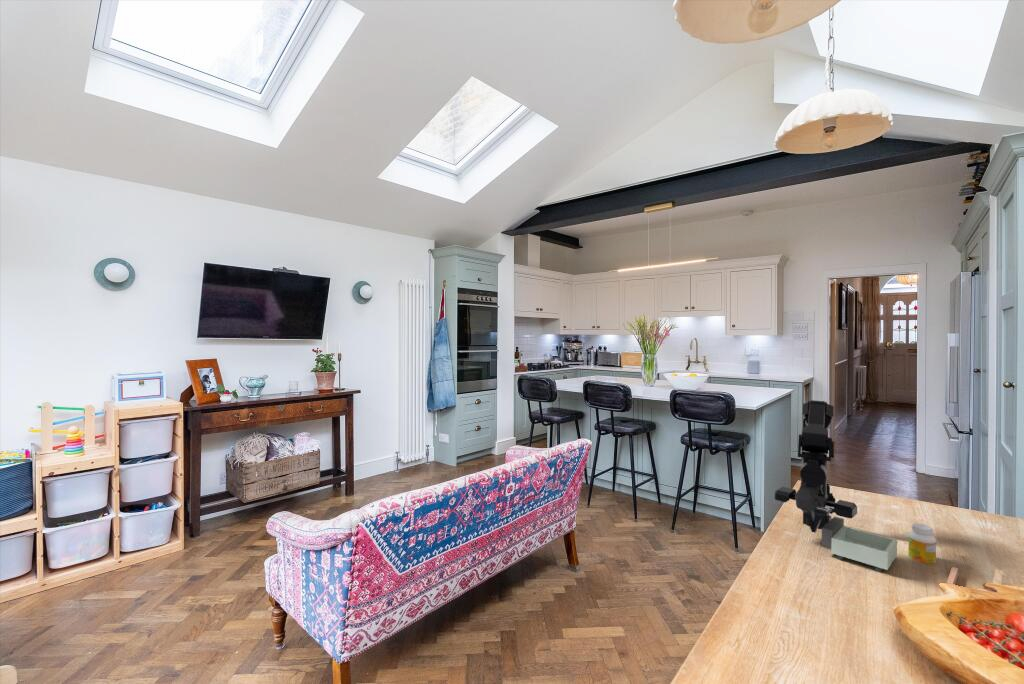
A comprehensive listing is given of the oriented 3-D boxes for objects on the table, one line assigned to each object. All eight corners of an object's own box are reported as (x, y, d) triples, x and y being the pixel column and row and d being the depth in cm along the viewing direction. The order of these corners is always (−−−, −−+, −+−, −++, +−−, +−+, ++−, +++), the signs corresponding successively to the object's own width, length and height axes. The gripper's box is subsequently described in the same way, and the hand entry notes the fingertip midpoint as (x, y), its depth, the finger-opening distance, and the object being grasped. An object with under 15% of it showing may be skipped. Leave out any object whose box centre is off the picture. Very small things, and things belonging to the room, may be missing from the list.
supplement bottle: (902, 558, 124) (903, 522, 123) (922, 557, 124) (922, 521, 124) (921, 568, 118) (921, 530, 118) (941, 568, 118) (942, 530, 118)
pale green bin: (821, 554, 123) (821, 527, 123) (834, 541, 131) (834, 516, 131) (887, 574, 113) (887, 545, 113) (896, 559, 120) (897, 532, 120)
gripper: (767, 474, 131) (766, 529, 131) (846, 491, 117) (845, 552, 117) (782, 467, 138) (781, 518, 138) (858, 482, 124) (857, 539, 124)
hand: (813, 531), depth 129 cm, fingers closed
